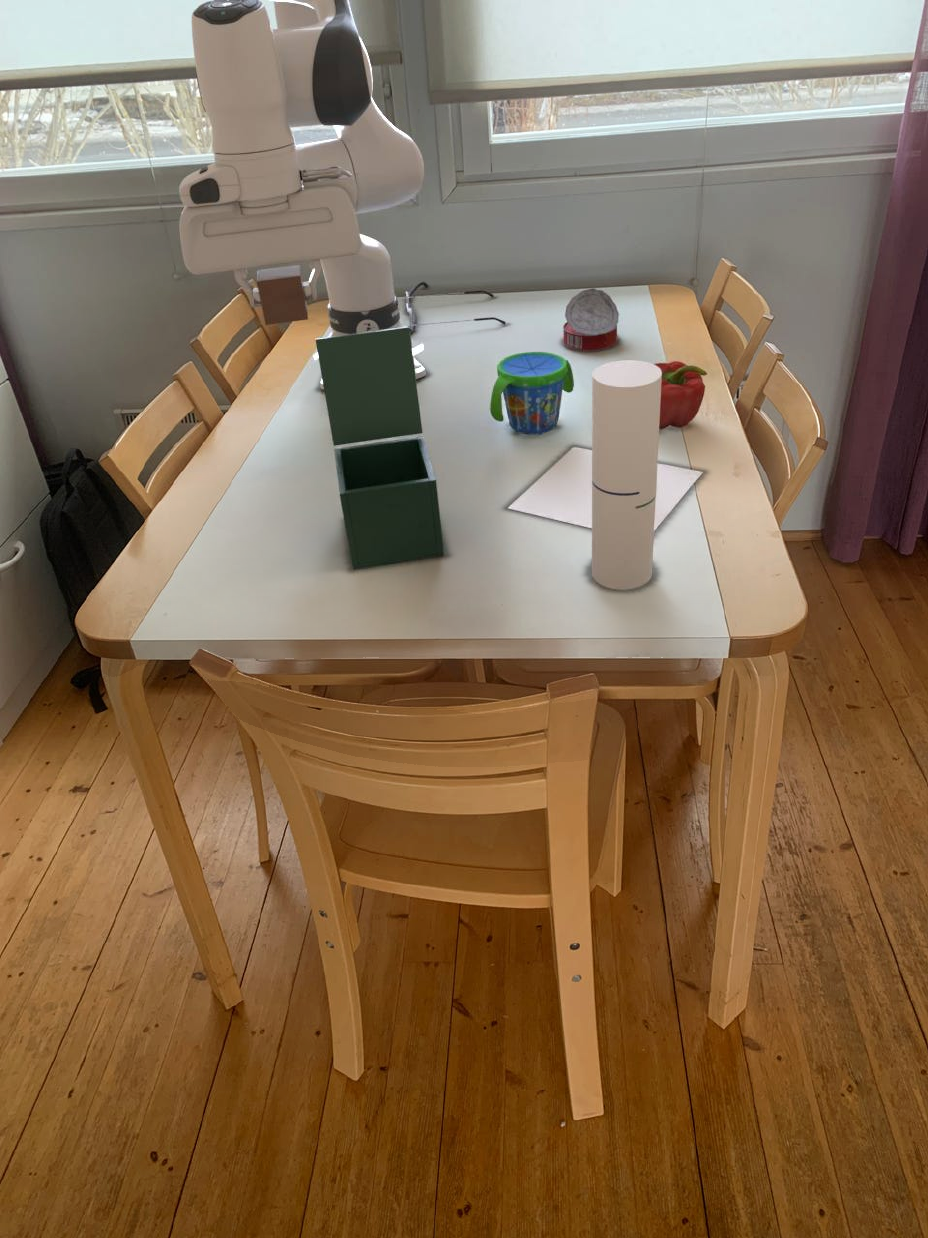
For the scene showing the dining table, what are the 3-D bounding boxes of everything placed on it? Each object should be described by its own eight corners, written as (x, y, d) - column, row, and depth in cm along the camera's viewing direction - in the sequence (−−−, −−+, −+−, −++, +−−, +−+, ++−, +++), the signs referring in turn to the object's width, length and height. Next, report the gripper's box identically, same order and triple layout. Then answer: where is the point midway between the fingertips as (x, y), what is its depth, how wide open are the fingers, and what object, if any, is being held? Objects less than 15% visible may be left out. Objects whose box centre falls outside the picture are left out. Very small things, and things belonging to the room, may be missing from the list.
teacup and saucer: (638, 505, 124) (639, 478, 122) (584, 493, 128) (584, 466, 126) (664, 476, 130) (665, 450, 128) (611, 466, 134) (612, 439, 132)
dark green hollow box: (444, 555, 118) (436, 480, 112) (352, 570, 117) (339, 494, 111) (430, 507, 128) (422, 435, 122) (346, 520, 127) (334, 448, 121)
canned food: (613, 358, 178) (639, 314, 171) (590, 372, 171) (616, 326, 164) (567, 324, 180) (591, 278, 173) (542, 336, 173) (566, 289, 166)
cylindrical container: (586, 559, 115) (586, 364, 100) (643, 553, 115) (652, 357, 100) (598, 592, 109) (599, 390, 94) (658, 585, 109) (669, 382, 95)
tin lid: (409, 327, 115) (408, 326, 116) (315, 339, 114) (315, 338, 115) (422, 433, 121) (422, 431, 122) (333, 446, 120) (333, 444, 121)
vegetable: (719, 420, 143) (725, 357, 137) (682, 445, 137) (686, 380, 132) (658, 404, 150) (661, 342, 144) (620, 427, 144) (622, 364, 138)
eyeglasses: (405, 306, 198) (403, 287, 196) (493, 299, 199) (492, 280, 197) (410, 335, 183) (408, 315, 181) (505, 327, 185) (505, 307, 182)
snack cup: (552, 401, 153) (551, 340, 147) (594, 422, 146) (594, 359, 140) (473, 429, 147) (469, 367, 141) (513, 452, 140) (510, 388, 134)
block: (266, 311, 114) (257, 269, 111) (307, 306, 114) (299, 264, 111) (265, 325, 110) (256, 281, 107) (308, 319, 110) (300, 275, 107)
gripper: (352, 159, 106) (369, 283, 114) (170, 180, 104) (200, 304, 113) (355, 169, 101) (373, 298, 109) (164, 192, 99) (196, 321, 107)
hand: (284, 301), depth 111 cm, fingers closed on block, 5 cm apart
